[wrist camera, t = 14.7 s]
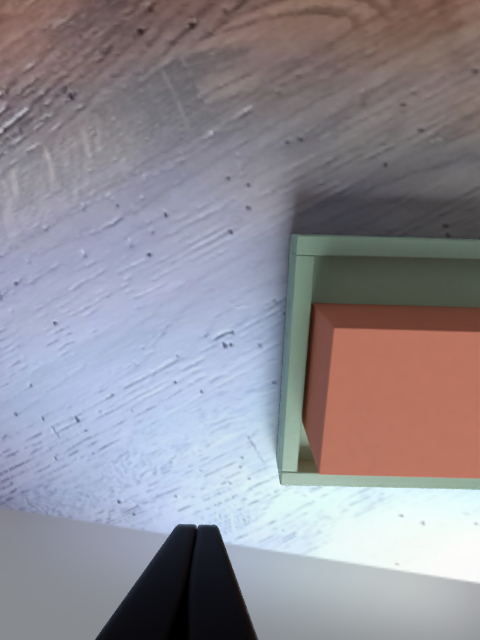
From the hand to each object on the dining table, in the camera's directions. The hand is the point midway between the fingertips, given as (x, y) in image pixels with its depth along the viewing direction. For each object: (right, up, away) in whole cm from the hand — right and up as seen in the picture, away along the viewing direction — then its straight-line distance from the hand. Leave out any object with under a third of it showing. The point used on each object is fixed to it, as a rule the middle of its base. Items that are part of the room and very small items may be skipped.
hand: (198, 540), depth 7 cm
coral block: (+9, +2, +10) cm, 13 cm away
